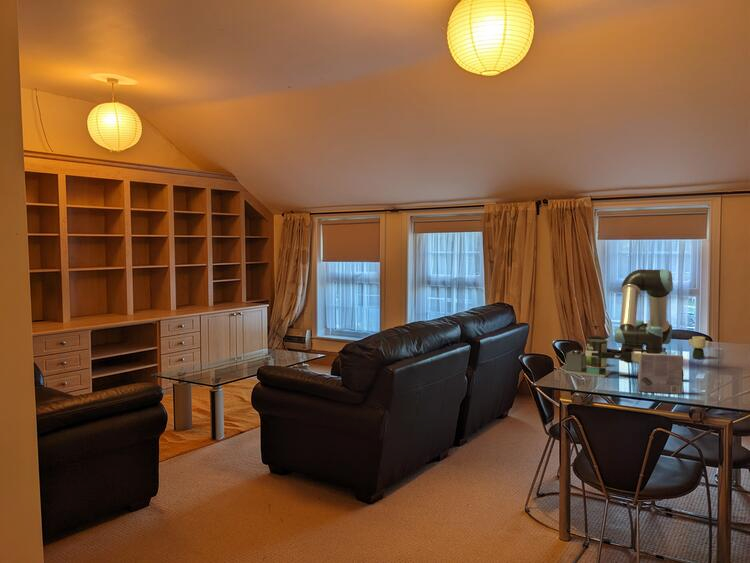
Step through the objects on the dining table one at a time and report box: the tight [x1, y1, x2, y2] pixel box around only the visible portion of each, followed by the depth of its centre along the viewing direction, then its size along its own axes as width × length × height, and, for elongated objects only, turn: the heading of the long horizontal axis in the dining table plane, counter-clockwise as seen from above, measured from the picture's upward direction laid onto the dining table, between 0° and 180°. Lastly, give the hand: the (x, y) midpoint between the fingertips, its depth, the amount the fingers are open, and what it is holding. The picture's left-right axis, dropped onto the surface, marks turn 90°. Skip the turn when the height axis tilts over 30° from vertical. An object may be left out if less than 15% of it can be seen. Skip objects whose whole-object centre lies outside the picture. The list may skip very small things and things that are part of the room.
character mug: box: [688, 335, 710, 359], centre depth 355 cm, size 11×7×13 cm, turn 50°
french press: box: [586, 325, 605, 340], centre depth 332 cm, size 12×9×23 cm
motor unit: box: [563, 349, 612, 378], centre depth 315 cm, size 14×21×11 cm
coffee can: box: [586, 338, 608, 369], centre depth 312 cm, size 10×10×14 cm
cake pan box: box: [637, 353, 685, 395], centre depth 272 cm, size 19×5×18 cm, turn 77°
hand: (588, 351), depth 315 cm, fingers closed on coffee can, 10 cm apart
